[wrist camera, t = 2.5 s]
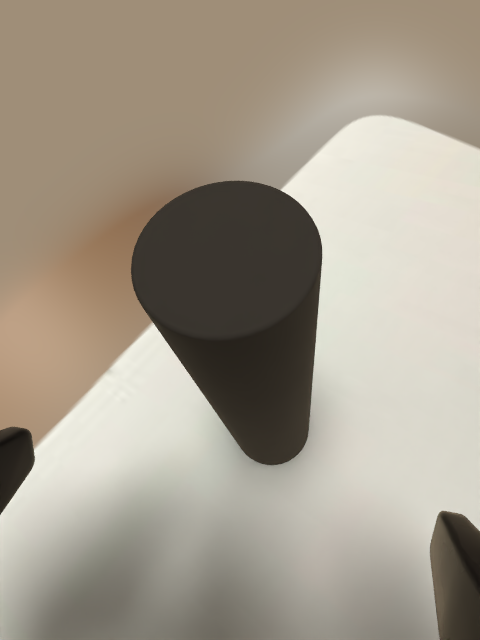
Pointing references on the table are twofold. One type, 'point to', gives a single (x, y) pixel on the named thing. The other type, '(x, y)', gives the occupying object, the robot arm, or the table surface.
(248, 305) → the post
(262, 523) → the table surface
